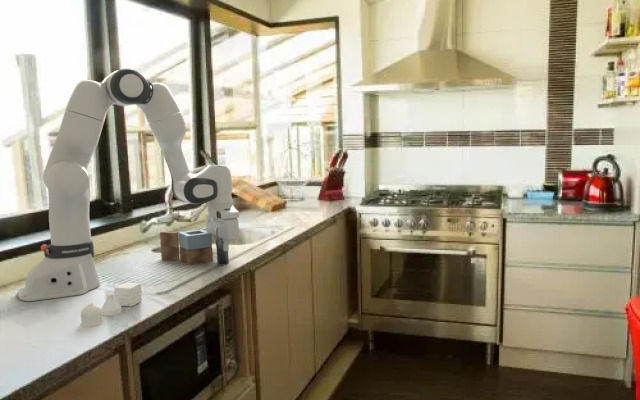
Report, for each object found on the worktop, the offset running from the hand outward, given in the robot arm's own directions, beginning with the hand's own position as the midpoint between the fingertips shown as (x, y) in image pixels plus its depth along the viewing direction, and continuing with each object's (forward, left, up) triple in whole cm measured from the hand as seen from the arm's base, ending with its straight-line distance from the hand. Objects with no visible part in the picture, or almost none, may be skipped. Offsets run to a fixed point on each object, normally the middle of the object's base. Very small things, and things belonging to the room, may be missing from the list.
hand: (222, 249), depth 184 cm
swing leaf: (-3, +13, -5) cm, 14 cm away
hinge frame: (-9, +13, -5) cm, 16 cm away
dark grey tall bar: (0, 0, -5) cm, 5 cm away
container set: (-44, -29, -6) cm, 53 cm away
